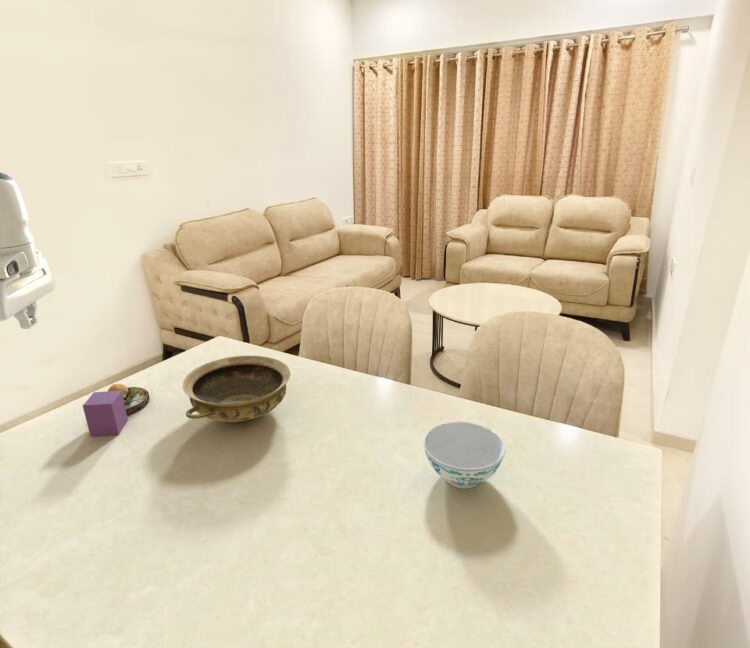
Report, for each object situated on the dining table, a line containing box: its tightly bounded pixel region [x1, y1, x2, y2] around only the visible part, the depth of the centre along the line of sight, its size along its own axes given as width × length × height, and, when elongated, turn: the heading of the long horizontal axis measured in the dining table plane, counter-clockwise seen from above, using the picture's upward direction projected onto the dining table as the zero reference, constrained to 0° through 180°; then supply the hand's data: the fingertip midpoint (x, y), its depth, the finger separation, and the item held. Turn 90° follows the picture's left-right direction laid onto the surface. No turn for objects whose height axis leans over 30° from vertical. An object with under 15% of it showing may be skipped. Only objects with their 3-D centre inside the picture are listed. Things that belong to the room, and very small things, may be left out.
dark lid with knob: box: [107, 383, 150, 415], centre depth 122 cm, size 12×12×8 cm
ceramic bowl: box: [182, 354, 291, 423], centre depth 117 cm, size 30×24×10 cm
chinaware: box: [423, 421, 506, 489], centre depth 95 cm, size 15×15×8 cm
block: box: [82, 390, 129, 438], centre depth 113 cm, size 6×6×8 cm
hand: (29, 326), depth 100 cm, fingers closed
